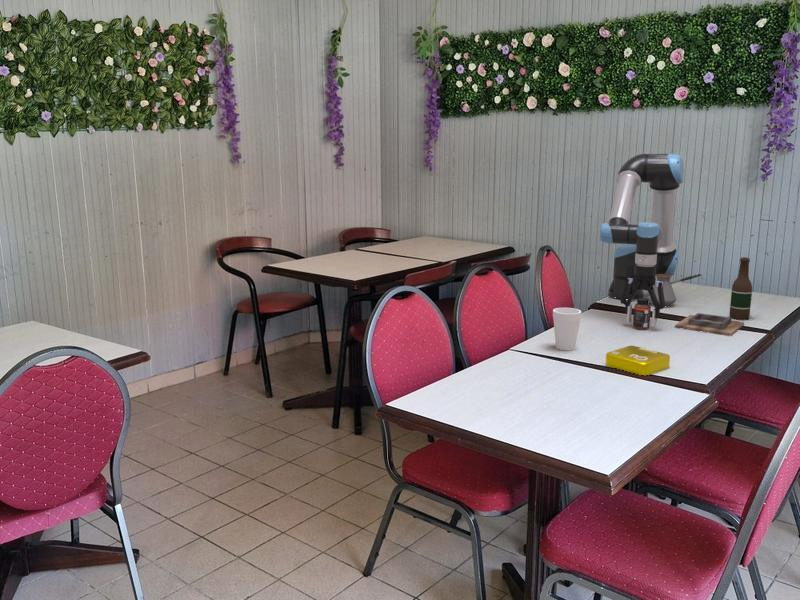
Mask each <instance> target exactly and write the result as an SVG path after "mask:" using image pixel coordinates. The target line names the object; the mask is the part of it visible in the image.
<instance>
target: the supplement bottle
mask: <svg viewBox="0 0 800 600" xmlns="http://www.w3.org/2000/svg"><path fill="white" fill-rule="evenodd" d="M651 310H652V305H651V304H650V302H649V299H648V297H647V298H646V297H643V298H638V299H637V300H636V303H635V304H634V306H633V316H632V317H633V320H632V328H634V329H636V330H640V329H641V330H643V331H644V330H645V331H646V330H648V329H650V325H651V324H650V323H651ZM641 330H640V331H641Z"/></svg>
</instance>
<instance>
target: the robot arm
mask: <svg viewBox="0 0 800 600" xmlns="http://www.w3.org/2000/svg"><path fill="white" fill-rule="evenodd" d="M684 170H685V169H684V161H683V157H682V155H679V154H675V153H639V154H637V155H634V156H633V157H631V158H629V159H628V160H627V161H625V163H624V164H623V165H622V166H621V167H620V168H619V170H618V173H617V176H616V183H617V187H616V191H615V194H614V197H613V198H614V199H613V203H612V208H611V211H610V214H609V218H608V222H604V223H602V224H601V226H600V231H599V239H600V241H601V242H602V243H605V244H621V245H619V246H617V247H616V248H614V249H615V250H614V256H613V258H614V261H613V262H614V263H613V275H612V276H613V278H612V280H611V283H610V284H609V285H610V286H609V288H608V291H607V296H608V297H609V298H611V297H613V298H612V299H615V298H614V297H616V298H619V299H618V300H620V304H623V306H625V307H624V314H625V315H626V317H627V318H626V323H627V324H630V323H632V317H633V316H632V315H633V305H632V304H631V303H632V302H633V301H634V300H633V299H638V298H644V295H645V294H644V291H646V292H647V293H648V296H649V295H650V297H651V300H652V302H653V305H652V306H653V307H654V309H652V318H651V328H655V327H656V326H657V319H659V317H660V312H661V311H660V310H663V309H665V308H666V307H665V299H664V292H663V285H664V282H663V281H662V282H659V281H657V276H656V274H668V275H672V276H674V275H675V273H676V269H677V264H678V260H679V255H680V249H677V245H676V244H675V243H674V242H673V237H674V236H673V235H674V220H675V200H676V191H677V190H678V189H679V188H680V185H681V184H683V183H684V179H685V178H684V177H685V175H684V172H685V171H684ZM641 183H645V184H646V183H648V184H649V189H650V190H651V191H652V211H651V212H652V214H651V222H650V221H649V222H647V221H646V222H644V221H643V222H639V223H638V224H630V220H631V215H632V211H633V206H634V203H635V198H636V193H637V189H638V187H639V186H640V185H641ZM622 244H623V245H622ZM655 284H656V286H657V287H658V296H659V302H658V300H657V297H656V295H655V292H654V288H653V286H654V285H655ZM626 299H628V300H626ZM659 303H660V305H659Z"/></svg>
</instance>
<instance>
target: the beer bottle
mask: <svg viewBox="0 0 800 600" xmlns="http://www.w3.org/2000/svg"><path fill="white" fill-rule="evenodd" d="M739 261H740V264H739V269H738V274H737V277H736V279H735V280H734V281H733V283H732V286H731V292H730V293H731V295H730V304H729V316H728V317H731V318H732V320H735V319H736V320H735V321H747V320H749V319H750V313H751V303H752V295H753V285H752V282H751V280H750V278H749V275H750V273H749V271H750V270H749V268H750V262H751V259H750V257H740V259H739Z"/></svg>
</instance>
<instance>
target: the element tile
mask: <svg viewBox="0 0 800 600" xmlns="http://www.w3.org/2000/svg"><path fill="white" fill-rule="evenodd" d="M670 359H671V356H670V354H668V353H664V352H661V351H657V350H652V349H649V348H645V347H644V348H643V347H639V346H637V345H628V346H624V347H620V348H618V349H614V350H611V351H608V352H606V354H605V366H606V367H608V368H612V369H615V368H617V369H616V370H619V369H620V370H619V371H622V370H624V371H623V372H626V371H627V372H626V373H629V372H631V373H630V374H633V373H635V374H634V375H637V374H638V375H637V376H641V375H644V376H643V377H646V375H648V376H651V375H653V374H652V373H654V374H656V373H658V372H661V370H662V371H664V369H665V370H667V369H669V368H670V361H671V360H670ZM655 372H656V373H655ZM650 374H651V375H650Z"/></svg>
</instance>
